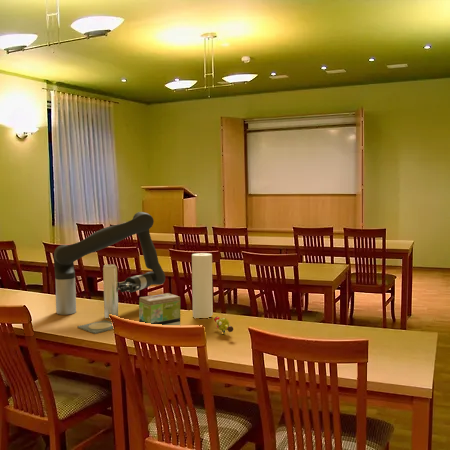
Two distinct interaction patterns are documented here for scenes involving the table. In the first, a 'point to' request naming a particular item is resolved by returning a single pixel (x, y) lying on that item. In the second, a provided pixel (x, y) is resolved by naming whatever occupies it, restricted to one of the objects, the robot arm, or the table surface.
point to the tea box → (160, 309)
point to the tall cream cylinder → (110, 290)
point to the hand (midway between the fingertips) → (114, 289)
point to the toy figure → (223, 324)
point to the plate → (97, 326)
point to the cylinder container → (202, 285)
